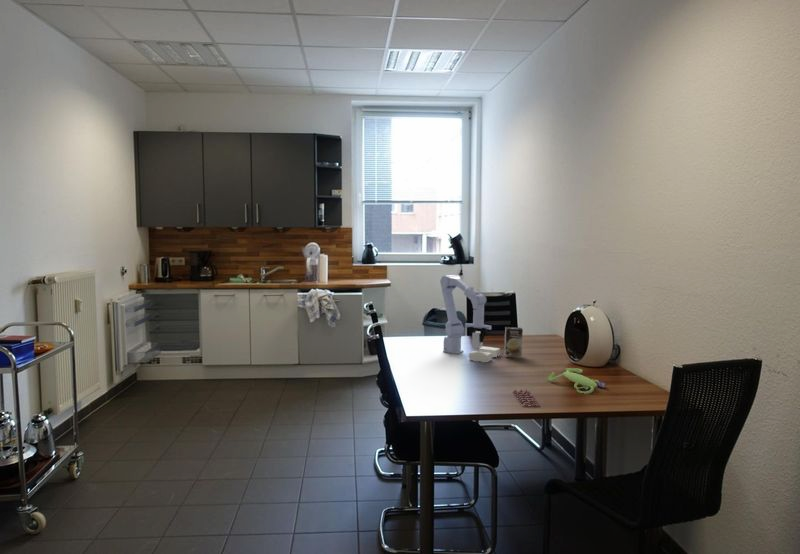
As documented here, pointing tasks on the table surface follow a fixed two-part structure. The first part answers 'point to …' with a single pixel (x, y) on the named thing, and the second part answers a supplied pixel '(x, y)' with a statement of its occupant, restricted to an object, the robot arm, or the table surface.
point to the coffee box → (513, 342)
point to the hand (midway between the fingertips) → (477, 341)
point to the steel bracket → (476, 339)
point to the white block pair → (484, 354)
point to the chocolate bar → (526, 398)
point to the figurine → (578, 379)
